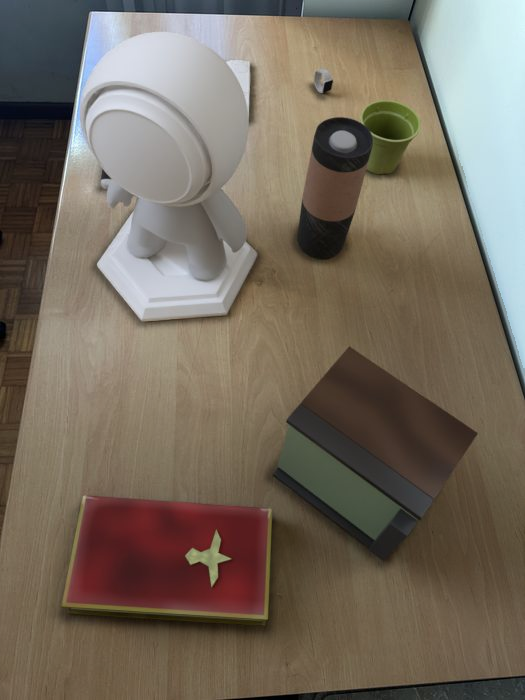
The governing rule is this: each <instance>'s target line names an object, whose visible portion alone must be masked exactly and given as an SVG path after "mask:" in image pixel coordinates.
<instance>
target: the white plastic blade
mask: <svg viewBox="0 0 525 700" xmlns="http://www.w3.org/2000/svg"><path fill="white" fill-rule="evenodd" d="M225 62H226V63H227V64H228V66H229V67H230V68H231V70H232V71H233V72H234V74H235V76H236V77H237V79H238V81H239V83H240V85H241V88H242V90H243V93H244V96H245V100H246V104H247V109H248V119H249V120H250V94H251V93H250V92H251V90H250V89H251V61H250V60H240V59H230V60H226V61H225Z"/></svg>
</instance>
